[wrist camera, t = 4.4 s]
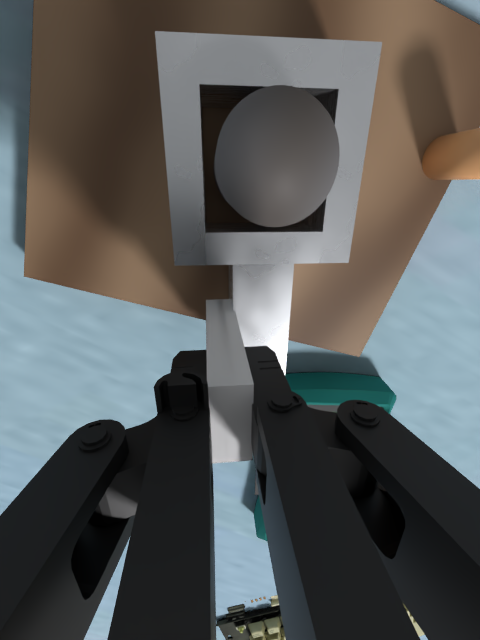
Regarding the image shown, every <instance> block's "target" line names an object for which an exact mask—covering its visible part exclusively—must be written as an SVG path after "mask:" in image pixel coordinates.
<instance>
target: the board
mask: <svg viewBox="0 0 480 640" xmlns="http://www.w3.org/2000/svg"><path fill="white" fill-rule="evenodd" d="M155 31H165V32H186V33H206V34H227V35H248V36H269V37H290V38H310V39H331V40H352V41H373V42H382V47H381V54H380V61H379V67H378V74H377V80H376V87H375V93H374V100H373V106H372V113H371V119H370V126H369V133H368V139H367V146H366V152H365V159H364V165H363V172H362V178H361V185H360V191H359V198H358V204H357V211H356V218H355V224H354V231H353V237H352V244H351V250H350V257H349V263H307V264H294V272H293V285H292V297H291V310H290V323H289V335H288V340H291V341H295V342H299V343H303V344H307V345H312V346H316V347H320V348H324V349H328V350H332V351H337V352H341V353H345V354H349V355H353V356H357V357H360V355H361V353H362V351H363V349H364V347H365V345H366V343H367V341H368V339H369V337H370V336H371V334H372V332H373V330H374V328H375V326H376V324H377V322H378V320H379V318H380V316H381V314H382V313H383V311H384V309H385V307H386V305H387V303H388V301H389V299H390V297H391V295H392V293H393V291H394V290H395V288H396V286H397V284H398V282H399V280H400V278H401V276H402V274H403V272H404V270H405V268H406V267H407V265H408V263H409V261H410V259H411V257H412V255H413V253H414V251H415V249H416V247H417V245H418V244H419V242H420V240H421V238H422V236H423V234H424V232H425V230H426V228H427V226H428V224H429V222H430V221H431V219H432V217H433V215H434V213H435V211H436V209H437V207H438V205H439V203H440V201H441V199H442V198H443V196H444V194H445V192H446V190H447V188H448V186H449V184H450V182H451V180H432V179H430V178H428V177H427V176H426V175H425V174H424V172H423V168H422V159H423V155H424V152H425V150H426V149H427V147H428V146H429V144H430V143H431V142H432V141H433V140H435V139H436V138H438V137H440V136H444V135H448V134H453V133H458V132H463V131H467V130H472V129H477V128H479V127H480V25H479V24H477V23H475V22H473V21H472V20H470V19H468V18H466V17H464V16H462V15H461V14H459V13H457V12H455V11H453V10H451V9H449V8H448V7H446V6H444V5H442V4H440V3H438V2H436V1H435V0H34V6H33V34H32V62H31V91H30V119H29V147H28V175H27V204H26V232H25V260H24V277H29V278H33V279H37V280H41V281H45V282H49V283H54V284H58V285H62V286H66V287H70V288H74V289H79V290H83V291H87V292H91V293H95V294H99V295H103V296H108V297H112V298H116V299H120V300H124V301H128V302H133V303H137V304H141V305H145V306H149V307H153V308H158V309H162V310H166V311H170V312H174V313H178V314H183V315H187V316H191V317H195V318H199V319H203V320H206V300H216V299H229V265H187V266H175V264H174V252H173V240H172V229H171V217H170V205H169V193H168V181H167V169H166V157H165V145H164V133H163V121H162V109H161V97H160V85H159V74H158V62H157V50H156V38H155ZM202 128H203V154H204V180H205V206H206V223H255V224H258V225H262V226H266V227H283V226H288V225H291V224H294V223H301V220H303V219H305V218H306V217H308V216H309V215H310V214H312V213H313V212H314V211H315V210H316V209H317V208H318V207H319V206H320V205H321V204H322V203H323V201H324V200H325V199H326V197H327V195H328V194H329V192H330V190H331V188H332V186H333V184H334V181H335V178H336V175H337V171H338V166H339V157H340V151H339V140H338V135H337V131H336V128H335V125H334V123H333V120H332V118H331V116H330V115H329V113H328V111H327V110H326V109H325V107H324V106H323V105H322V104H321V103H320V102H319V101H318V100H317V99H316V98H315V97H314V96H312V95H311V94H309V93H308V92H306V91H304V90H302V89H299V88H296V87H293V86H287V85H274V86H268V87H264V88H261V89H258V90H256V91H254V92H253V93H251V94H249V95H248V96H246V97H245V98H244V99H242V100H241V101H240V102H239V103H238V104H237V105H236V106H235V107H234V108H216V107H202Z"/></svg>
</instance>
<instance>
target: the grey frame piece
mask: <svg viewBox="0 0 480 640" xmlns="http://www.w3.org/2000/svg"><path fill="white" fill-rule="evenodd" d="M155 38H156V50H157V62H158V74H159V85H160V97H161V109H162V121H163V133H164V145H165V157H166V169H167V181H168V193H169V205H170V217H171V229H172V240H173V252H174V264H175V266H187V265H229V299H231V303H232V308H233V311H235V312H236V316H237V320H238V324H239V328H240V332H241V336H242V340H243V344H244V347H251V346H268V347H269V348H270V349H272V350H273V351H274V352H275V353H276V356H277V358H278V362H279V363H280V365H281V368H282V370H283V372H284V374H285V373H286V361H287V348H288V335H289V323H290V310H291V297H292V285H293V272H294V264H307V263H349V257H350V250H351V244H352V237H353V231H354V224H355V218H356V211H357V204H358V198H359V191H360V185H361V178H362V172H363V165H364V159H365V152H366V146H367V139H368V133H369V126H370V119H371V113H372V106H373V100H374V93H375V87H376V80H377V74H378V67H379V61H380V54H381V47H382V42H373V41H352V40H331V39H310V38H290V37H269V36H248V35H227V34H206V33H186V32H165V31H155ZM274 85H287V86H293V87H296V88H299V89H302V90H304V91H306V92H308V93H309V94H311V95H312V96H314V97H315V98H316V99H317V100H318V101H319V102H320V103H321V104H322V105H323V106H324V107H325V109H326V110H327V111H328V113H329V115H330V116H331V118H332V120H333V123H334V125H335V128H336V131H337V135H338V140H339V151H340V157H339V166H338V171H337V175H336V178H335V181H334V184H333V186H332V188H331V190H330V192H329V194H328V195H327V197H326V199H325V200H324V201H323V203H322V204H321V205H320V206H319V207H318V208H317V209H316V210H315V211H314V212H313V213H312V214H310V215H309V216H308V217H306V218H305V219H303V220H301V223H294V224H291V225H288V226H283V227H266V226H262V225H258V224H255V223H206V206H205V180H204V154H203V128H202V107H216V108H234V107H235V106H236V105H237V104H238V103H239V102H240V101H241V100H242V99H244V98H245V97H246V96H248V95H249V94H251V93H253V92H254V91H256V90H258V89H261V88H264V87H268V86H274Z"/></svg>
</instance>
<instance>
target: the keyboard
mask: <svg viewBox="0 0 480 640" xmlns="http://www.w3.org/2000/svg"><path fill="white" fill-rule="evenodd" d="M271 598H272V600H271V606H272V607H270V608H267V609H258V610H253V611H252V612H250V611H247V612H245V610H244V608H245V606H244V604H242V605H238V606H234V607H229V608H228V612H229V613H230V614H226V619H224V620H221V621H218V622H217V624H216V626H219V628H220V630H221V631H222V633H223V635H224V637H225V638H226V640H286V638H285V633H284V627H283V622H282V616H281V611H280V606H279V600H278V595H276V596H272V597H271ZM259 599H260V600H262V599H261V598H259ZM264 599H266V598H265V597H264ZM255 600H256V601H258V600H257V599H255ZM245 602H246V601H245ZM251 602H253V600H251ZM402 603H403V602H402ZM403 605H404V603H403ZM404 607H405V609H406V611H407V613H408V615H409V617H410V619H411V621H412V623H413V625H414V628H415V630H416V632H417V634H418V636H422V635H424V632H423V631H422V630H421V628H420V627H419V625H418V624H417V622H416V621H415V619H414V618H413V617H412V615H411V614H410V612H409V611H408V609H407V608H406V606H405V605H404ZM241 610H242V611H241ZM237 611H238V612H237ZM233 612H234V613H233ZM228 635H231V636H232V637H233V638H230V639H228Z"/></svg>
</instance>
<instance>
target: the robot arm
mask: <svg viewBox="0 0 480 640" xmlns="http://www.w3.org/2000/svg"><path fill="white" fill-rule="evenodd" d="M171 368H172V369H171V373H169V374H167V375H164V376H163V377H162V378H160V379H159V380H158V381H157V382H156V384H155V386H154V392H155V399H156V405H157V412H158V414H157V416H156V417H155V418H153V419H152V420H150V421H148V422H146V423H144V424H141V425H139V426H135V427H132V428H129V429H126V430H125V428H124V426H123V425H122V424H121V423H120V422H118V421H114V420H98V421H94V422H91V423H88V424H86V425H84V426H82V427H81V428H79V429H77V430H76V431H75V432H74V433H73V434H72V435H70V436H69V437H68V439H67V440H66V441H65V442H64V443H63V444H62V445H61V447H60V448H59V449H58V450H57V451H56V452H55V453H54V455H53V456H52V457H51V458H50V459H49V460H48V461H47V463H46V464H45V465H44V466H43V467H42V468H41V470H40V471H39V472H38V473H37V474H36V475H35V476H34V478H33V479H32V480H31V481H30V482H29V483H28V484H27V486H26V487H25V488H24V489H23V490H22V491H21V492H20V494H19V495H18V496H17V497H16V498H15V499H14V501H13V502H12V503H11V504H10V505H9V506H8V507H7V509H6V510H5V511H4V512H3V513H2V514H1V515H0V640H84V637H85V635H86V633H87V631H88V629H89V626H90V624H91V622H92V620H93V617H94V615H95V613H96V611H97V609H98V606H99V604H100V602H101V600H102V597H103V595H104V593H105V591H106V589H107V586H108V584H109V582H110V580H111V577H112V575H113V573H114V571H115V569H116V566H117V564H118V562H119V560H120V557H121V555H122V553H123V551H124V549H125V546H126V544H127V542H128V540H129V537H130V540H129V545H128V550H127V554H126V559H125V563H124V568H123V572H122V577H121V581H120V586H119V590H118V595H117V599H116V604H115V608H114V613H113V617H112V622H111V626H110V631H109V636H108V640H216V607H215V552H214V497H213V468H212V463H223V462H237V461H248V460H252V455H254V461H255V464H256V473H255V495H259V498H260V504H261V509H262V514H263V520H264V525H265V530H266V536H267V541H268V547H269V552H270V557H271V563H272V568H273V573H274V579H275V584H276V590H277V595H278V600H279V606H280V611H281V616H282V622H283V627H284V633H285V638H286V640H420V638H419V636H418V634H417V632H416V630H415V628H414V625H413V623H412V621H411V619H410V617H409V615H408V613H407V611H406V609H405V607H404V605H405V606H406V608H407V609H408V611H409V612H410V614H411V615H412V617H413V618H414V619H415V621H416V622H417V624H418V625H419V627H420V628H421V630H422V631H423V632H424V634H425V635H426V637H427V638H428V640H480V489H479V488H478V487H476V486H475V485H474V484H473V483H472V482H470V481H469V480H468V479H467V478H466V477H464V476H463V475H462V474H461V473H460V472H458V471H457V470H456V469H455V468H454V467H452V466H451V465H450V464H449V463H448V462H446V461H445V460H444V459H443V458H442V457H440V456H439V455H438V454H437V453H436V452H434V451H433V450H432V449H431V448H430V447H428V446H427V445H426V444H425V443H424V442H422V441H421V440H420V439H419V438H418V437H416V436H415V435H414V434H413V433H412V432H410V431H409V430H408V429H407V428H406V427H404V426H403V425H402V424H401V423H400V422H398V421H397V420H396V419H395V418H394V417H392V416H391V415H390V414H389V413H388V412H386V411H385V410H384V409H382V408H381V407H379V406H378V405H376V404H373V403H370V402H368V401H363V400H347V401H345V402H343V403H341V404H340V405H339V407H338V409H337V413H336V412H329V411H323V410H318V409H313V408H311V407H308V406H307V404H306V402H305V401H304V399H303V398H302V397H301V396H300V395H298V394H297V393H295V392H293V391H291V388H290V386H289V384H288V381H287V379H286V377H285V374H284V372H283V370H282V368H281V365H280V363H279V362H278V358H277V356H276V353H275V352H274V351H273V350H272V349H270V348H269V347H268V346H251V347H244V344H243V340H242V336H241V332H240V328H239V324H238V320H237V316H236V312H235V311H233V308H232V303H231V299H216V300H206V350H194V351H180V352H179V353H178V354H177V355H176V356H175V357H174V358H173V362H172V367H171ZM130 535H131V536H130ZM402 602H403V603H404V605H403V603H402Z"/></svg>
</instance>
